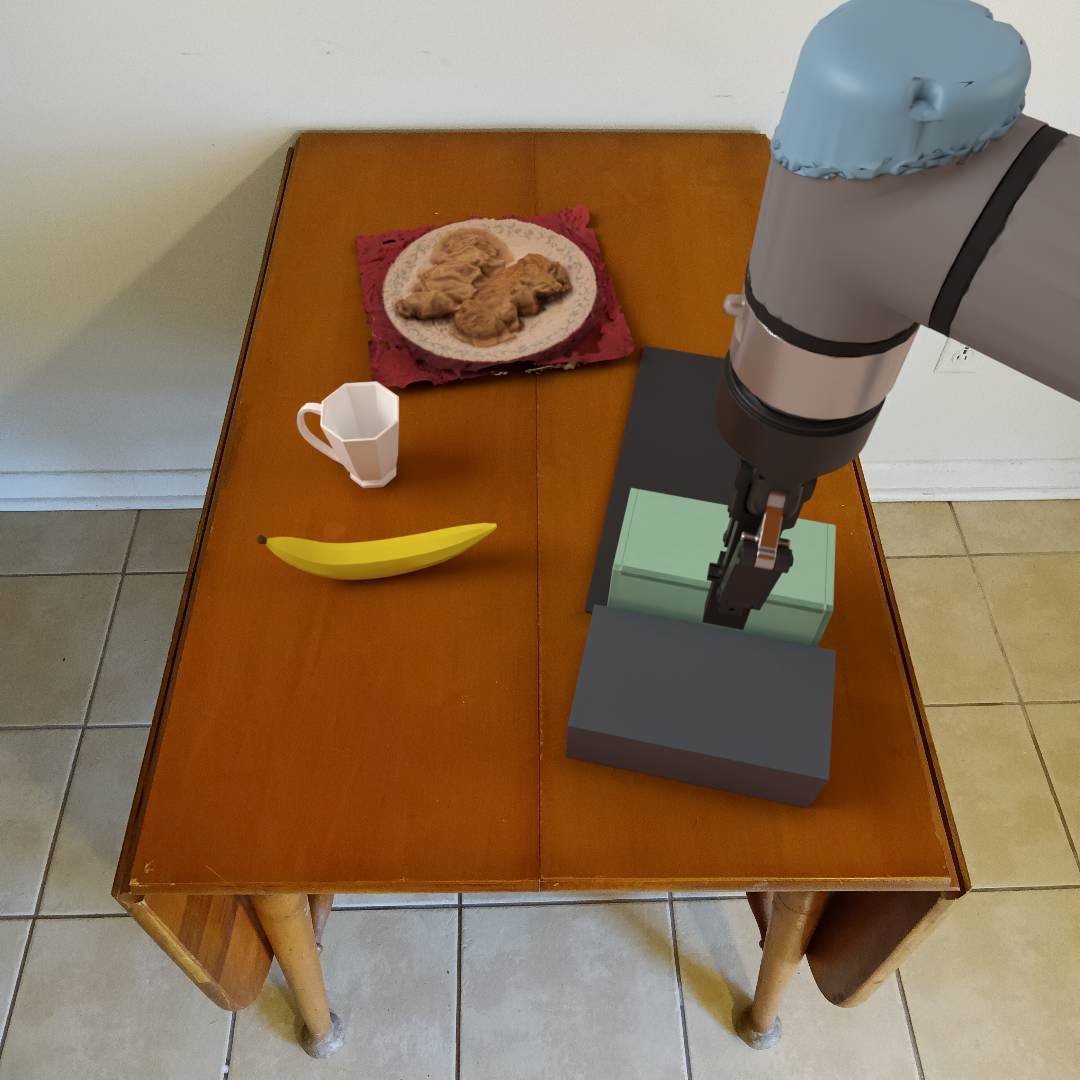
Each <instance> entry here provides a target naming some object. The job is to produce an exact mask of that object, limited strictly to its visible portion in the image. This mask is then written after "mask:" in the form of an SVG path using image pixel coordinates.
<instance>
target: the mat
mask: <svg viewBox="0 0 1080 1080" xmlns="http://www.w3.org/2000/svg"><path fill="white" fill-rule="evenodd" d="M724 361H725V357H719V356H712V355H707V354H706V355H705V354H700V353H694V352H688V351H683V350H682V351H681V350H675V349H670V348H669V349H668V348H664V347H663V348H662V347H657V346H649V345H643V347H642V352H641V357H640V361H639V366H638V370H637V375H636V379H635V384H634V389H633V392H632V398H631V402H630V407H629V411H628V414H627V420H626V423H625V427H624V432H623V433H624V434H623V437H622V438H623V439H622V442H621V447H620V450H619V455H618V460H617V465H616V468H615V473H614V477H613V483H612V487H611V490H610V495H609V500H608V504H607V509H606V513H605V519H604V522H603V526H602V531H601V536H600V539H599V544H598V549H597V554H596V556H595V557H596V558H595V562H594V566H593V572H592V576H591V580H590V585H589V589H588V594H587V597H586V602H585V607H584V613H587V614H592V613H593V608H594V605H595V604H596V605H601V606H606V607H607V605H608V598H609V591H610V583H611V576H612V569H613V564H614V560H615V556H616V551H617V547H618V543H619V538H620V534H621V529H622V525H623V521H624V516H625V512H626V508H627V503H628V499H629V494H630V490H631V488H635V489H638V490H639V489H640V490H646V491H651V492H657V493H662V494H668V495H673V496H679V497H684V498H690V499H695V500H700V501H706V502H711V503H717V504H722V505H728V504H730V503H731V500H732V496H733V492H734V488H735V486H734V484H735V476H736V469H737V463H738V458H739V455H738V454H737V453H736V452H735V451H734V450H733V449H732V448H731V447H730V446H729V445H728V444H727V442H726V441H725V439H724V438H723V436H722V435H721V433H720V431H719V428H718V425H717V422H716V418H715V400H716V395H717V391H718V387H719V382H720V378H721V374H722V370H723V365H724Z"/></svg>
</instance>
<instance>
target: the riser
mask: <svg viewBox="0 0 1080 1080" xmlns="http://www.w3.org/2000/svg"><path fill="white" fill-rule="evenodd" d="M836 656H837V650H834V649H829V648H825V647H819V646H818V647H814V646H809V645H803V644H798V643H793V642H788V641H783V640H777V639H772V638H767V637H762V636H757V635H752V634H746V633H741V632H736V631H731V630H726V629H720V628H715V627H710V626H705V625H700V624H694V623H689V622H684V621H679V620H674V619H668V618H663V617H658V616H653V615H648V614H642V613H637V612H632V611H627V610H622V609H616V608H611V607H606V606H601V605H596V604H595V605H594V608H593V613H591V617H590V623H589V626H588V632H587V636H586V641H585V646H584V649H583V654H582V658H581V663H580V667H579V672H578V676H577V677H578V678H577V682H576V685H575V686H576V687H575V691H574V695H573V700H572V705H571V710H570V714H569V719H568V724H567V732H566V733H567V734H566V747H565V748H566V750H565V757H566V758H570V759H574V760H579V761H583V762H588V763H593V764H597V765H603V766H607V767H611V768H617V769H621V770H626V771H631V772H635V773H640V774H645V775H650V776H653V777H659V778H663V779H669V780H674V781H678V782H682V783H687V784H692V785H696V786H700V787H705V788H710V789H716V790H721V791H725V792H729V793H733V794H740V795H742V796H743V795H744V796H749V797H753V798H758V799H762V800H767V801H772V802H775V803H782V804H786V805H791V806H795V807H800V808H805V809H809V808H810V806H811V805H812V804H813V802H814V801H815V800H816V798H817V797H818V796H819V794H820V792H821V791H822V790H823V789H824V787H825V786H826V785H827V783H828V782H829V781H830V769H831V768H830V767H831V749H832V731H833V715H834V713H833V712H834V693H835V678H836V677H835V675H836V658H837V657H836Z"/></svg>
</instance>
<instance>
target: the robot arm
mask: <svg viewBox="0 0 1080 1080" xmlns="http://www.w3.org/2000/svg"><path fill="white" fill-rule="evenodd" d="M1031 74H1032V59H1031V56H1030V51H1029V47H1028V44H1027V42H1026V40H1025V39H1024V37H1023V36H1022V34H1021V33H1020V32H1019V31H1018V29H1016V28H1015V27H1014V26H1013V24H1012V23H1007V22H1004V21H999V20H995V19H994V15H993V12H991V10H990V8H989V7H987V6H985V5H983V4H980V3H978V2H976V1H973V0H848V1H846V2H844V3H841V4H840V5H838V6H837V7H836V8H835V9H833V10H832V11H831V12H829V13H828V14H827V15H825V16H824V17H822V18H821V19H819V20H818V21H817V23H816V24H815V25H814V26H813V27H812V29H811V30H810V32H809V33H808V35H807V37H806V39H805V40H804V43H803V45H802V46H801V49H800V53H799V56H798V59H797V62H796V66H795V69H794V73H793V76H792V79H791V82H790V85H789V89H788V93H787V96H786V99H785V101H784V102H785V103H784V106H783V110H782V113H781V116H780V119H779V123H778V124H777V125H776V126H775V128H774V133H773V135H772V137H771V138H770V145H769V150H770V152H771V153H770V160H769V165H768V169H767V174H766V179H765V184H764V188H763V192H762V193H763V194H762V198H761V203H760V207H759V208H760V209H759V213H758V217H757V222H756V227H755V233H754V236H753V241H752V246H751V250H750V256H749V259H748V261H747V264H746V267H745V268H746V269H745V273H744V281H743V283H742V290H741V294H739V293H738V294H736V293H729V294H727V295H726V296H725V297H724V301H723V304H722V312H723V314H724V315H725V316H726V317H730V318H735V319H734V324H733V328H732V332H731V333H732V334H731V337H730V343H729V346H728V347H729V348H728V349H727V352H726V354H725V357H724V358H725V361H724V365H723V370H722V374H721V378H720V382H719V387H718V391H717V395H716V400H715V418H716V422H717V425H718V428H719V431H720V433H721V435H722V436H723V438H724V439H725V441H726V442H727V444H728V445H729V446H730V447H731V448H732V449H733V450H734V451H735V452H736V453H737V454H738V455H739V458H738V463H737V469H736V476H735V484H734V486H735V488H734V492H733V496H732V500H731V503H730V504H728V509H727V512H728V513H729V518H730V521H729V524H728V527H727V530H726V531H725V533H724V535H723V541H724V547H726V548H727V551H726V552H725V551H720V554H719V558H718V561H717V564H716V563H711V562H710V564H709V568H708V574H707V580H708V581H712V582H711V585H710V588H709V592H708V595H707V599H706V602H705V607H704V614H703V621H702V622H703V623H708V624H713V625H719V626H724V627H729V628H734V629H739V630H743V629H744V627H745V624H746V621H747V619H748V616H749V613H750V611H751V609H753V610H759V611H760V609H761V608H762V606H763V605H764V603H765V601H766V599H767V598H768V596H769V594H770V593H771V591H772V589H773V588H774V586H775V584H776V583H777V581H778V579H779V578H780V576H781V574H782V573H788V572H789V569H790V567H792V565H793V561H794V557H793V554H792V549H789V548H790V544H791V541H790V539H784V538H780V537H781V534H782V532H783V530H786V529H791V528H793V527H794V526H795V524H796V522H797V519H798V518H800V517H799V516H800V514H801V511H802V509H803V506H804V504H805V503H806V502H809V501H810V500H811V499H812V497H813V494H814V493H815V490H816V487H817V483H818V478H820V477H822V476H825V475H828V474H831V473H834V472H836V471H839V470H841V469H842V468H844V467H846V466H848V464H850V463H852V461H854V460H855V459H856V458H857V457H858V456H859V455H860V454H861V452H862V451H863V449H864V448H865V447H866V444H867V443H868V440H869V438H870V435H871V433H872V432H873V429H874V427H875V425H876V422H877V420H878V418H879V416H880V413H881V411H882V409H883V407H884V404H885V402H886V399H887V397H888V394H890V392H891V391H892V390H893V388H894V386H895V383H896V382H897V379H898V377H899V375H900V372H901V371H902V368H903V366H904V363H905V362H906V358H907V357H908V355H909V352H910V350H911V348H912V345H913V343H914V341H915V339H916V336H917V334H918V332H919V330H920V327H921V326H923V327H925V328H926V329H930V330H932V331H935V332H937V333H938V334H941V335H943V336H944V337H946V338H949V339H952V340H954V341H956V342H958V343H960V344H962V345H964V346H966V347H969V348H970V349H972V350H974V351H976V352H978V353H979V354H982V355H984V356H986V357H988V358H990V359H992V360H994V361H996V362H998V363H1000V364H1002V365H1004V366H1006V367H1008V368H1010V369H1012V370H1014V371H1016V372H1018V373H1020V374H1022V375H1024V376H1026V377H1028V378H1030V379H1032V380H1034V381H1036V382H1038V383H1040V384H1043V385H1044V386H1046V387H1048V388H1050V389H1053V390H1054V391H1056V392H1058V393H1060V394H1061V395H1064V396H1066V397H1068V398H1070V399H1072V400H1074V401H1076V402H1078V403H1080V136H1079V135H1076V134H1074V133H1072V132H1071V133H1068V132H1067V131H1065V130H1061V129H1059V128H1056V127H1054V126H1051V125H1050V124H1049V123H1048V122H1045V121H1043V120H1040V119H1037V118H1035V117H1032V116H1029V115H1027V114H1025V113H1023V111H1024V109H1025V107H1026V95H1027V94H1026V89H1027V86H1028V84H1029V81H1030V78H1031Z"/></svg>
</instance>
